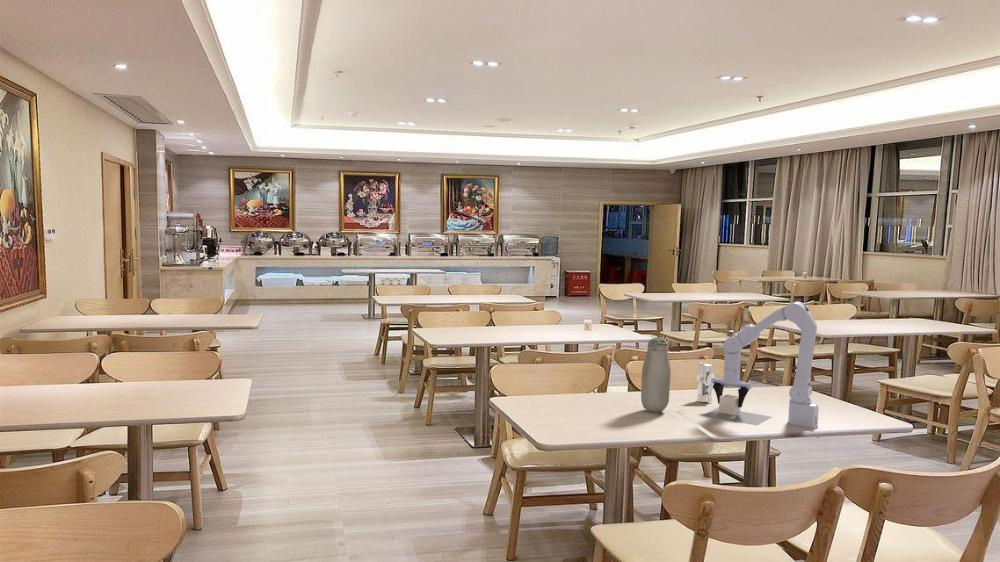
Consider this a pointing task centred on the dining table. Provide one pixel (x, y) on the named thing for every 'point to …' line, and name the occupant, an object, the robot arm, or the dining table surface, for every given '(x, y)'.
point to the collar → (729, 404)
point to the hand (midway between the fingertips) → (729, 405)
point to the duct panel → (739, 417)
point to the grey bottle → (656, 376)
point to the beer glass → (705, 381)
